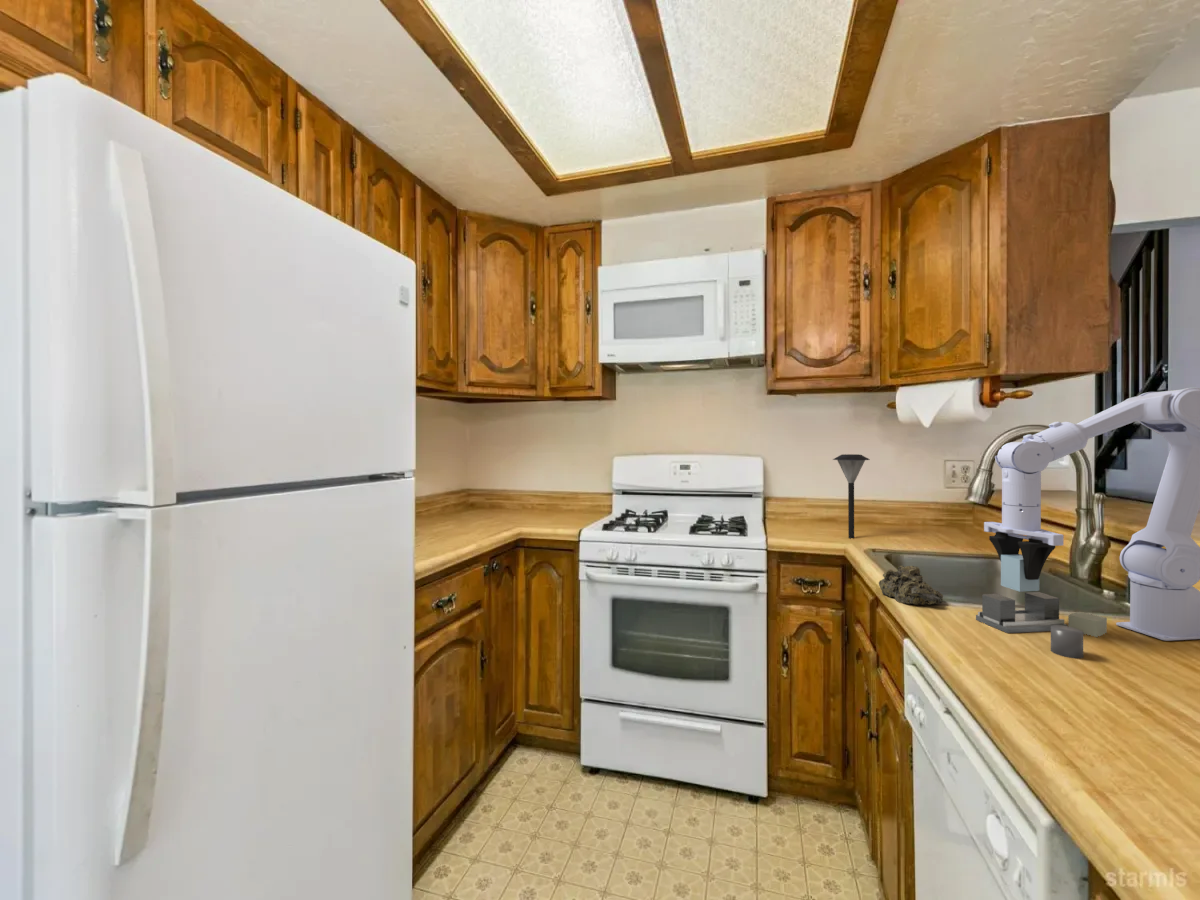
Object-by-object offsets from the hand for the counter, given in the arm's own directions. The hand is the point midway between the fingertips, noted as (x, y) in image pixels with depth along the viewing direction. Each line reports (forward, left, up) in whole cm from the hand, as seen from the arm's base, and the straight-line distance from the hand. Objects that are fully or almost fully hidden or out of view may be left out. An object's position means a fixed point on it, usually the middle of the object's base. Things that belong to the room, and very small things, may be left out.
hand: (1020, 576), depth 97 cm
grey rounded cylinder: (+4, +12, -10) cm, 16 cm away
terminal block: (-9, +4, -10) cm, 14 cm away
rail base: (0, 0, -9) cm, 9 cm away
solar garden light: (-18, -85, -10) cm, 87 cm away
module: (0, 0, -2) cm, 2 cm away
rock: (+9, -18, -10) cm, 22 cm away
